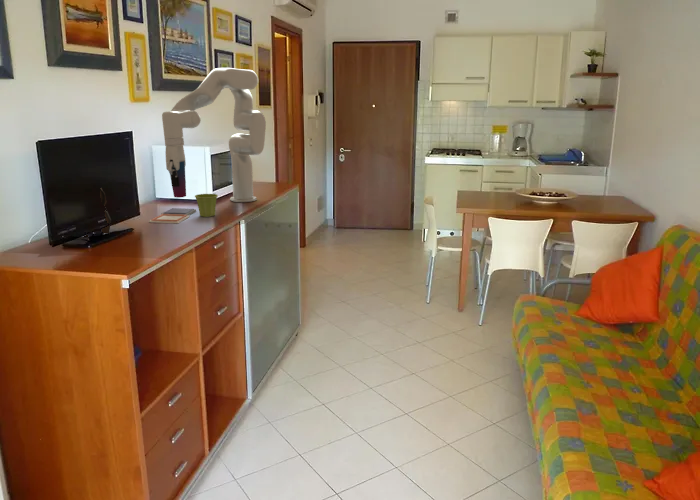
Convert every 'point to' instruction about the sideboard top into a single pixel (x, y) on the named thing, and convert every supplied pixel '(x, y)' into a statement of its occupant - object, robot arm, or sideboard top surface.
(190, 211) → the ink pad
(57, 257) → the sideboard top surface
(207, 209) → the plant pot
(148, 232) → the sideboard top surface
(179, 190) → the cup
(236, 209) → the sideboard top surface
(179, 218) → the cream flat square piece
